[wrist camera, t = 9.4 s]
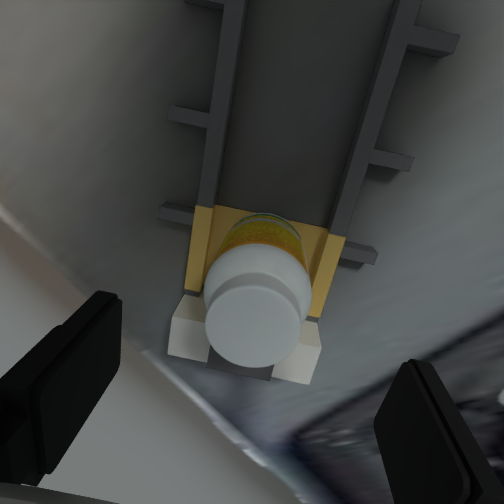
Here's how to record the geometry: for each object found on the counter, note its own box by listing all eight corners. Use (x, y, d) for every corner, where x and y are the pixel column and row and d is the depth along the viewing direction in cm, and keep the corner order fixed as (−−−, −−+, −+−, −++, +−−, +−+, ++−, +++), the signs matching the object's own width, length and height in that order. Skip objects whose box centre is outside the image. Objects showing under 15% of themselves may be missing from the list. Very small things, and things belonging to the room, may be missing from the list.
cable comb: (191, -53, 17) (155, -125, 12) (461, 4, 17) (535, -44, 12) (154, 313, 25) (124, 358, 20) (334, 352, 25) (347, 407, 20)
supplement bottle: (309, 277, 23) (328, 374, 14) (235, 289, 24) (208, 389, 15) (295, 202, 21) (306, 260, 12) (215, 218, 22) (171, 284, 13)
